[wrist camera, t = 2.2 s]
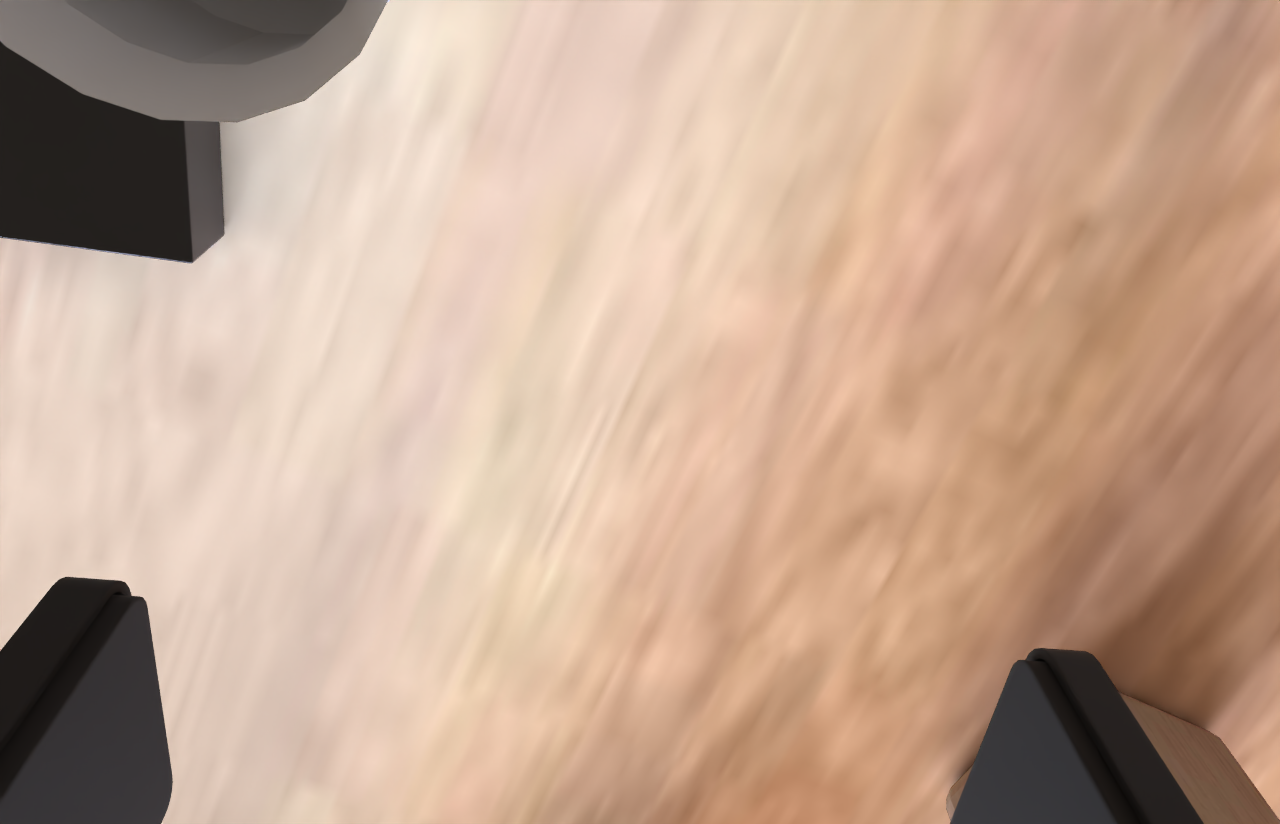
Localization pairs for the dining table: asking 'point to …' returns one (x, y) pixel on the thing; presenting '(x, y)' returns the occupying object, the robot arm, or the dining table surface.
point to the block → (1190, 770)
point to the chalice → (191, 50)
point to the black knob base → (103, 171)
